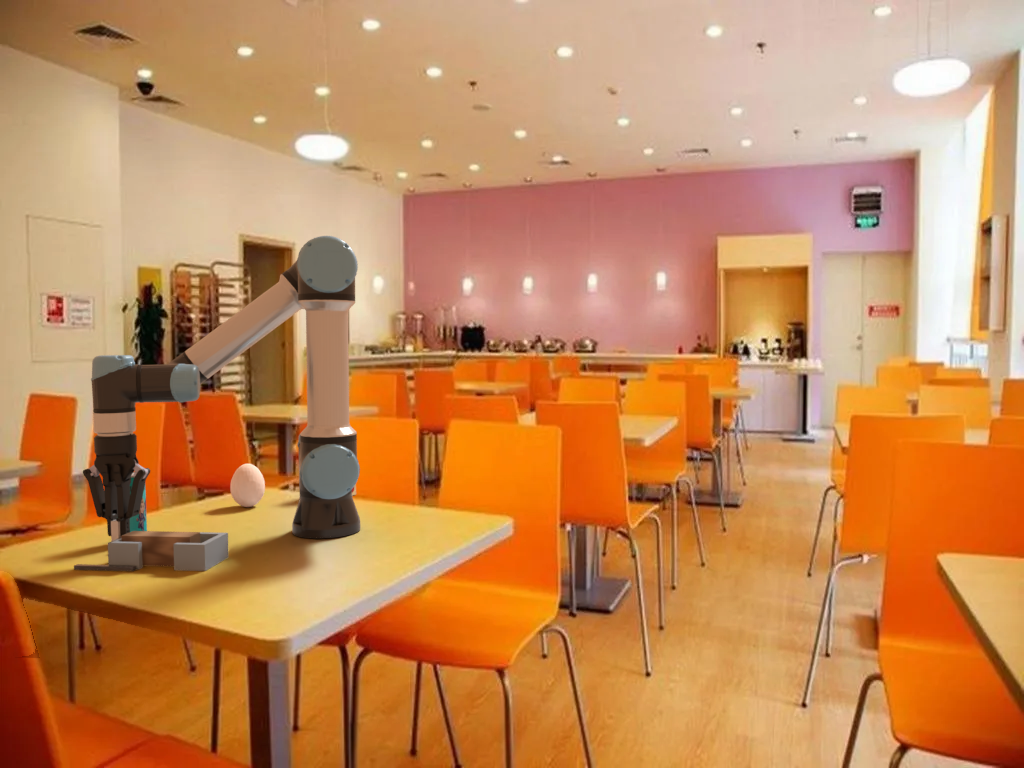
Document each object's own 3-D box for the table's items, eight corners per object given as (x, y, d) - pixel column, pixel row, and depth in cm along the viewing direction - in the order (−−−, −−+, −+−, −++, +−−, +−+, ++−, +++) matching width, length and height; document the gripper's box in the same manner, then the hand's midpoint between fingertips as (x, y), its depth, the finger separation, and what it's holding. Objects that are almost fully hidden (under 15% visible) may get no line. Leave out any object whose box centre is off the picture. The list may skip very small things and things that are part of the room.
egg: (238, 503, 216) (236, 461, 216) (270, 503, 216) (268, 461, 215) (225, 510, 208) (224, 466, 207) (258, 510, 207) (257, 466, 207)
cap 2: (228, 557, 162) (227, 532, 162) (205, 570, 152) (204, 544, 152) (199, 556, 163) (198, 532, 162) (174, 570, 153) (173, 544, 153)
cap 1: (166, 555, 163) (165, 531, 163) (139, 569, 154) (138, 543, 154) (137, 555, 164) (136, 531, 164) (108, 568, 155) (107, 542, 154)
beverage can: (135, 546, 172) (133, 476, 171) (112, 544, 173) (109, 475, 172) (152, 539, 177) (150, 471, 176) (129, 538, 178) (127, 471, 178)
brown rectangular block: (200, 562, 159) (200, 532, 159) (190, 567, 155) (189, 537, 155) (134, 560, 161) (133, 530, 161) (122, 566, 157) (121, 535, 157)
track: (167, 554, 165) (167, 550, 165) (133, 571, 153) (133, 567, 153) (112, 553, 166) (112, 549, 166) (74, 569, 154) (73, 565, 154)
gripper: (157, 431, 161) (160, 548, 162) (96, 431, 162) (100, 546, 164) (135, 436, 154) (139, 558, 155) (71, 435, 155) (76, 556, 156)
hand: (119, 552), depth 159 cm, fingers closed
